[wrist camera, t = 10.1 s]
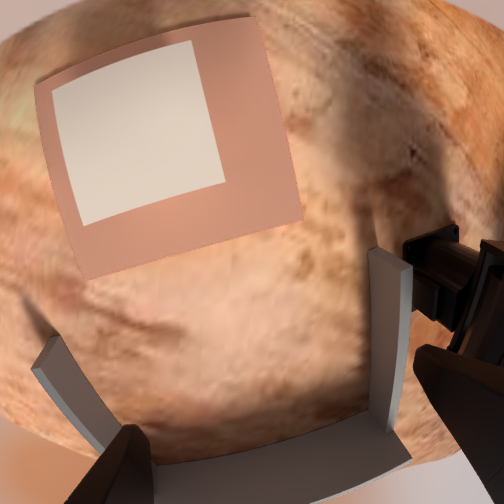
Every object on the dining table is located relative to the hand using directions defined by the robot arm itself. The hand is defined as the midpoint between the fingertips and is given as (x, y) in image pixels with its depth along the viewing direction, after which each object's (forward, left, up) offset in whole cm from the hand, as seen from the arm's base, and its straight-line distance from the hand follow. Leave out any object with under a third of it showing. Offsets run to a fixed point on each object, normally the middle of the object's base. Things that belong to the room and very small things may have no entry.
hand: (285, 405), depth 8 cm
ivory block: (+2, -9, -11) cm, 14 cm away
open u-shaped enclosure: (+2, +10, -11) cm, 15 cm away
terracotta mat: (+2, -9, -11) cm, 14 cm away
